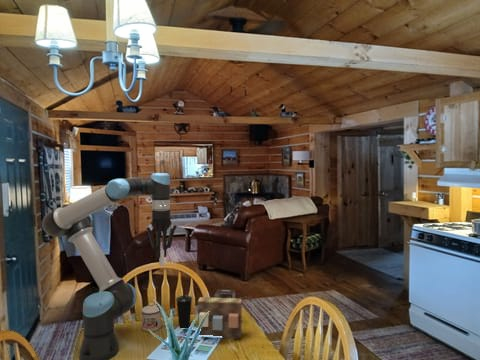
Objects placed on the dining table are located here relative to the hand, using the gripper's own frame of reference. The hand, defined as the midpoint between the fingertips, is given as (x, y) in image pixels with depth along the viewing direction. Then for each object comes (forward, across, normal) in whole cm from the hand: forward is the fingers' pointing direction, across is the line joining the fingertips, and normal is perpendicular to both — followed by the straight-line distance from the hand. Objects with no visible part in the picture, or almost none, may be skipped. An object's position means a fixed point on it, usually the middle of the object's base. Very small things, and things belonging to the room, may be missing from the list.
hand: (161, 264), depth 150 cm
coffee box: (+35, +32, +6) cm, 47 cm away
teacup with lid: (+35, 0, +17) cm, 39 cm away
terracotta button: (+28, +30, -8) cm, 42 cm away
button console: (+34, +25, -3) cm, 43 cm away
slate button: (+28, +23, -7) cm, 37 cm away
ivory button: (+28, +19, -2) cm, 34 cm away
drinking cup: (+35, +13, +12) cm, 39 cm away
